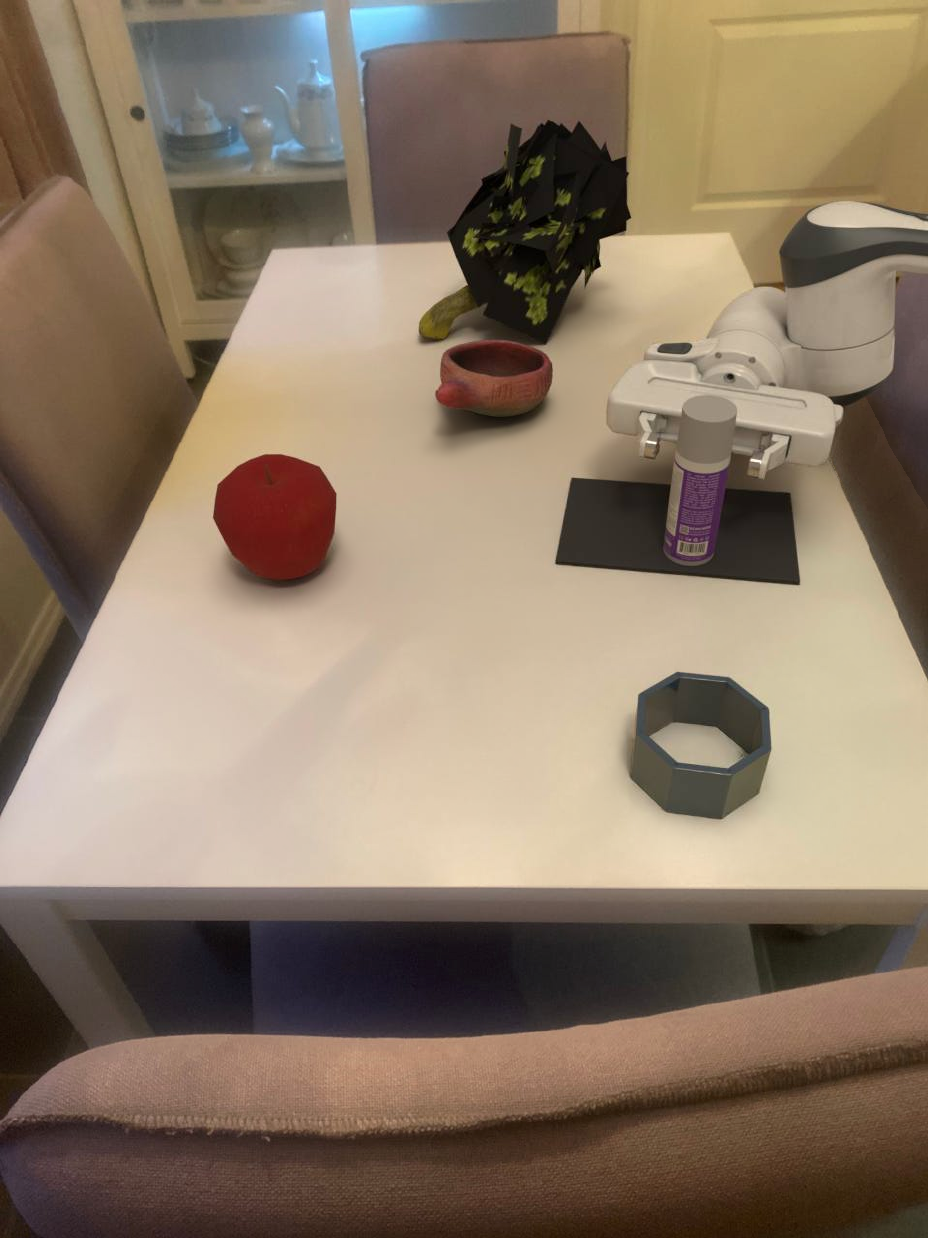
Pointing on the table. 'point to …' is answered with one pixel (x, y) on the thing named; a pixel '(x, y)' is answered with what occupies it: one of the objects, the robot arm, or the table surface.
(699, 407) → the container
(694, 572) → the mat
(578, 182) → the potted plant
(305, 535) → the apple
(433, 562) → the table surface
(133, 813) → the table surface
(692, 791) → the octagonal ring
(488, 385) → the bowl
